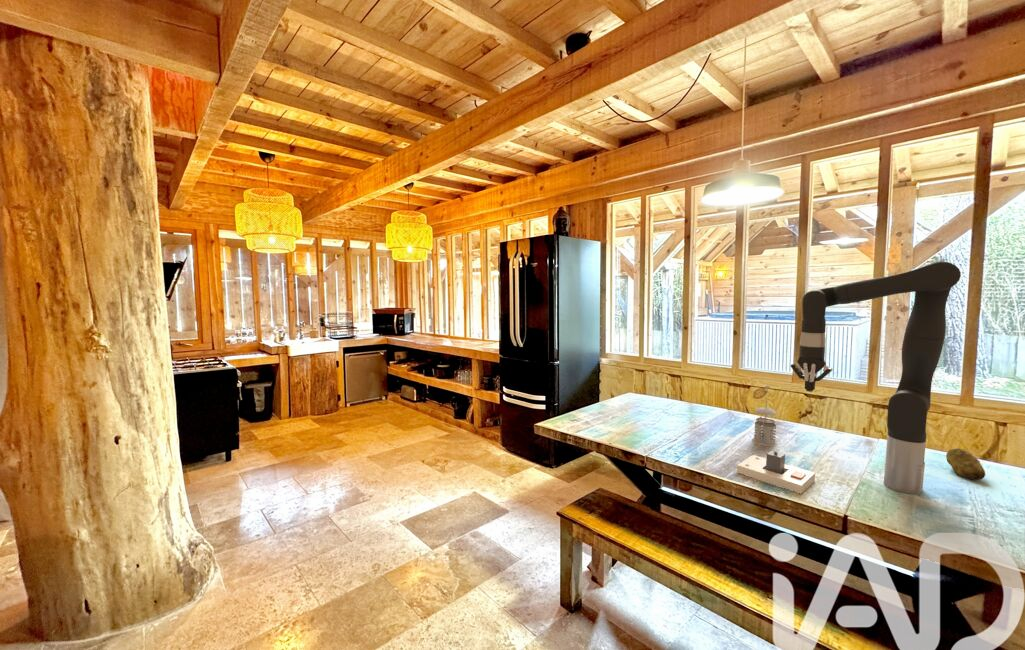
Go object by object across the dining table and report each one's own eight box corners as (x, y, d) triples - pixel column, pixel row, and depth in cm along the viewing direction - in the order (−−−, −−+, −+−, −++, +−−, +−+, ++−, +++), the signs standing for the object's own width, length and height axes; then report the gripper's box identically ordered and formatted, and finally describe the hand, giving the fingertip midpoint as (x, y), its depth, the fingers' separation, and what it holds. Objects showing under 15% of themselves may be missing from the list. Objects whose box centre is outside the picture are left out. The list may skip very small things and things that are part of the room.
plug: (783, 475, 146) (785, 452, 145) (779, 479, 143) (780, 455, 142) (770, 471, 149) (771, 448, 148) (765, 475, 146) (766, 451, 146)
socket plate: (814, 481, 143) (815, 471, 142) (801, 494, 134) (801, 483, 134) (752, 462, 158) (753, 453, 158) (736, 472, 149) (737, 463, 149)
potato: (951, 477, 144) (953, 455, 144) (943, 464, 155) (945, 444, 154) (986, 484, 139) (989, 461, 139) (975, 470, 150) (977, 449, 149)
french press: (780, 442, 178) (783, 385, 176) (773, 449, 170) (776, 390, 168) (755, 436, 185) (757, 382, 183) (747, 443, 177) (749, 386, 175)
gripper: (837, 345, 147) (834, 392, 149) (794, 341, 157) (792, 386, 159) (831, 347, 142) (828, 396, 144) (787, 343, 153) (785, 389, 154)
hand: (809, 391), depth 151 cm, fingers closed
